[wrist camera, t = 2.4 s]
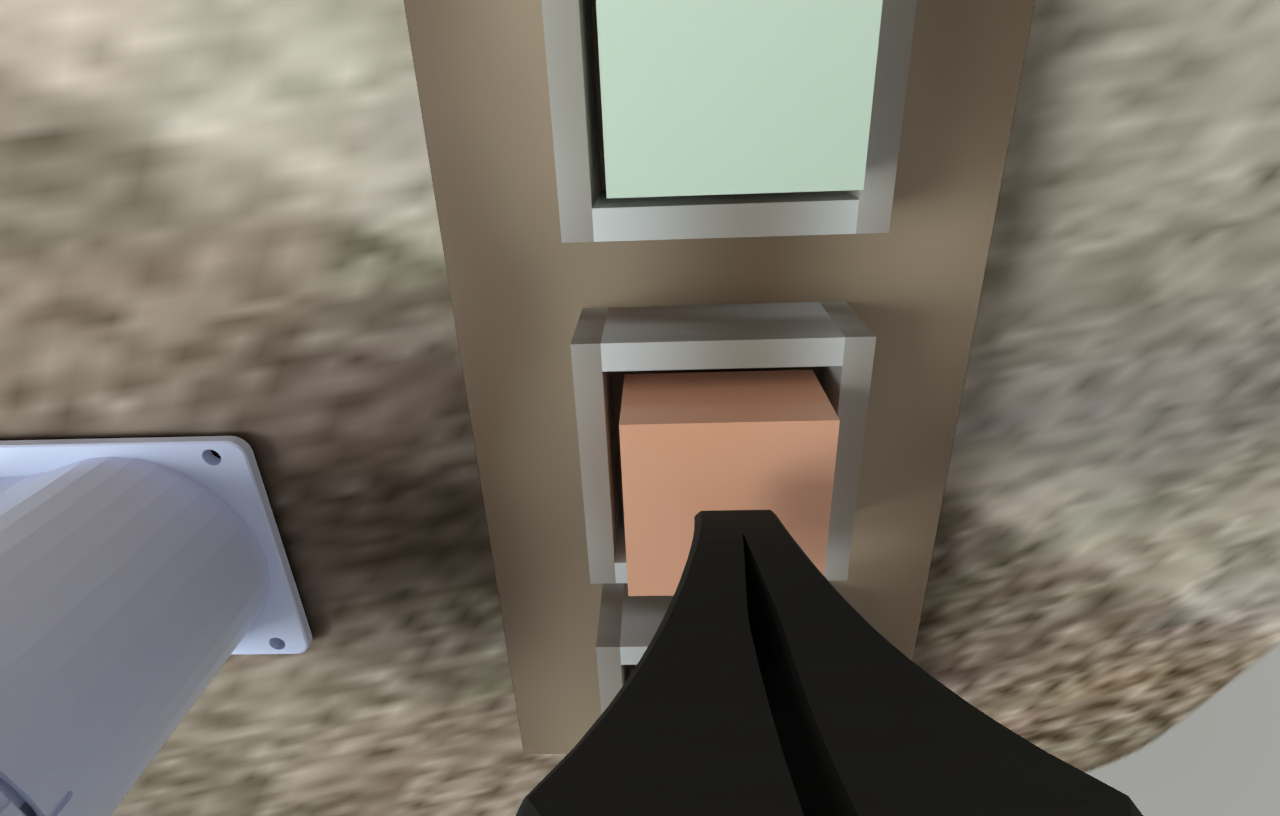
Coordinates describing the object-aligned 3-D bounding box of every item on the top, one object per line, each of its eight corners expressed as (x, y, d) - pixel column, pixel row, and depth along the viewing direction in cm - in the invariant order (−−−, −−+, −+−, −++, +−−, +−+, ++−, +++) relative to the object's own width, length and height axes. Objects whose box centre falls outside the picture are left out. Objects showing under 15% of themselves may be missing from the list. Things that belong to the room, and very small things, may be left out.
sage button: (615, 178, 13) (606, 198, 11) (602, -77, 11) (589, -116, 9) (828, 171, 13) (863, 190, 11) (848, -88, 11) (896, -130, 9)
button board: (533, 703, 24) (509, 826, 20) (411, -150, 14) (311, -245, 10) (877, 700, 24) (922, 826, 20) (1019, -181, 13) (1174, -295, 9)
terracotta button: (632, 527, 16) (628, 596, 14) (624, 374, 15) (619, 424, 12) (800, 525, 16) (822, 593, 14) (812, 369, 14) (839, 420, 12)
